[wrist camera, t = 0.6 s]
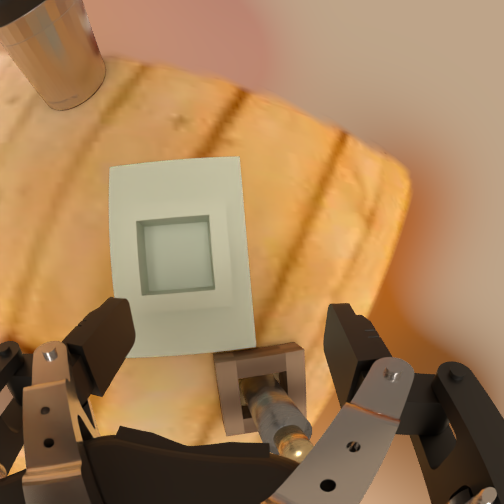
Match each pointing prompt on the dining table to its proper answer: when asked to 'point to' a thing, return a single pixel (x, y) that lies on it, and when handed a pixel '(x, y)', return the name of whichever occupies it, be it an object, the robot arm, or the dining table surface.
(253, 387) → the stepped metal cylinder
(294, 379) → the socket block
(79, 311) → the dining table surface
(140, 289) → the board
